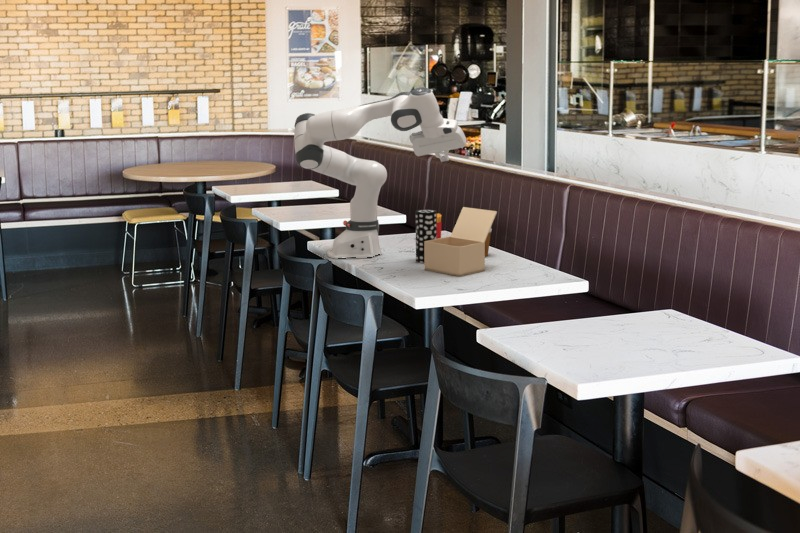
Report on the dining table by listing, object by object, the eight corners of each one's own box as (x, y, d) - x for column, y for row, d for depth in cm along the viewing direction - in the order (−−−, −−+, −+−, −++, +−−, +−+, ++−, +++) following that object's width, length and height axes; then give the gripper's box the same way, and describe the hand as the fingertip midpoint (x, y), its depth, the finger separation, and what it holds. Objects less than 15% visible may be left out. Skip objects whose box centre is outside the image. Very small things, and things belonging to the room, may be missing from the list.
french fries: (425, 241, 427) (425, 212, 424) (433, 240, 429) (433, 211, 426) (435, 245, 419) (435, 215, 416) (444, 244, 421) (444, 214, 418)
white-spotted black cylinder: (422, 258, 391) (422, 209, 387) (440, 260, 387) (440, 210, 383) (412, 262, 384) (411, 211, 380) (430, 264, 380) (430, 213, 376)
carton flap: (496, 211, 367) (497, 211, 367) (463, 206, 379) (463, 207, 379) (483, 241, 364) (484, 242, 365) (450, 236, 376) (451, 237, 376)
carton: (459, 276, 357) (459, 247, 354) (424, 269, 369) (424, 241, 367) (484, 270, 366) (484, 242, 364) (449, 264, 379) (449, 236, 376)
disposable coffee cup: (493, 253, 398) (493, 225, 396) (489, 258, 389) (489, 228, 387) (470, 252, 401) (471, 224, 398) (466, 257, 392) (466, 228, 389)
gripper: (406, 138, 360) (417, 169, 367) (457, 127, 353) (469, 159, 360) (409, 129, 365) (421, 161, 372) (460, 119, 357) (471, 151, 365)
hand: (445, 160), depth 366 cm, fingers closed
